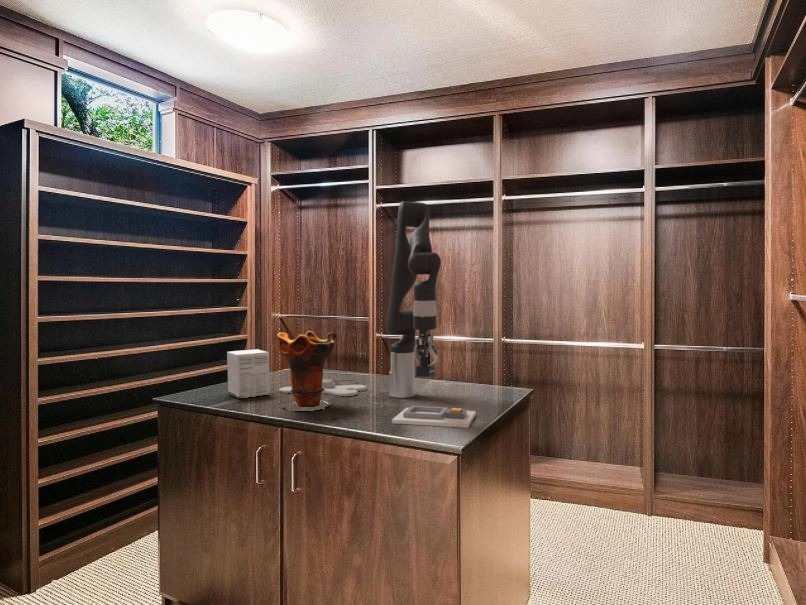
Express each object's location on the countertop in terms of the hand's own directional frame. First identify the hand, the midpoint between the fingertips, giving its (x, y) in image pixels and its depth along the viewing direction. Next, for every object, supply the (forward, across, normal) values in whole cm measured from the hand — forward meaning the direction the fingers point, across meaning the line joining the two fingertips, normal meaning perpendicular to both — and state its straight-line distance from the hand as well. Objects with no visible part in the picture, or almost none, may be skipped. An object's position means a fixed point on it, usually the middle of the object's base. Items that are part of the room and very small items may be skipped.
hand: (425, 367), depth 182 cm
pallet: (+17, 0, +3) cm, 17 cm away
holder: (+18, -36, -52) cm, 66 cm away
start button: (+15, 0, +10) cm, 18 cm away
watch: (+3, 0, 0) cm, 3 cm away
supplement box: (+17, -22, -78) cm, 83 cm away
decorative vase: (+17, -8, -46) cm, 50 cm away
